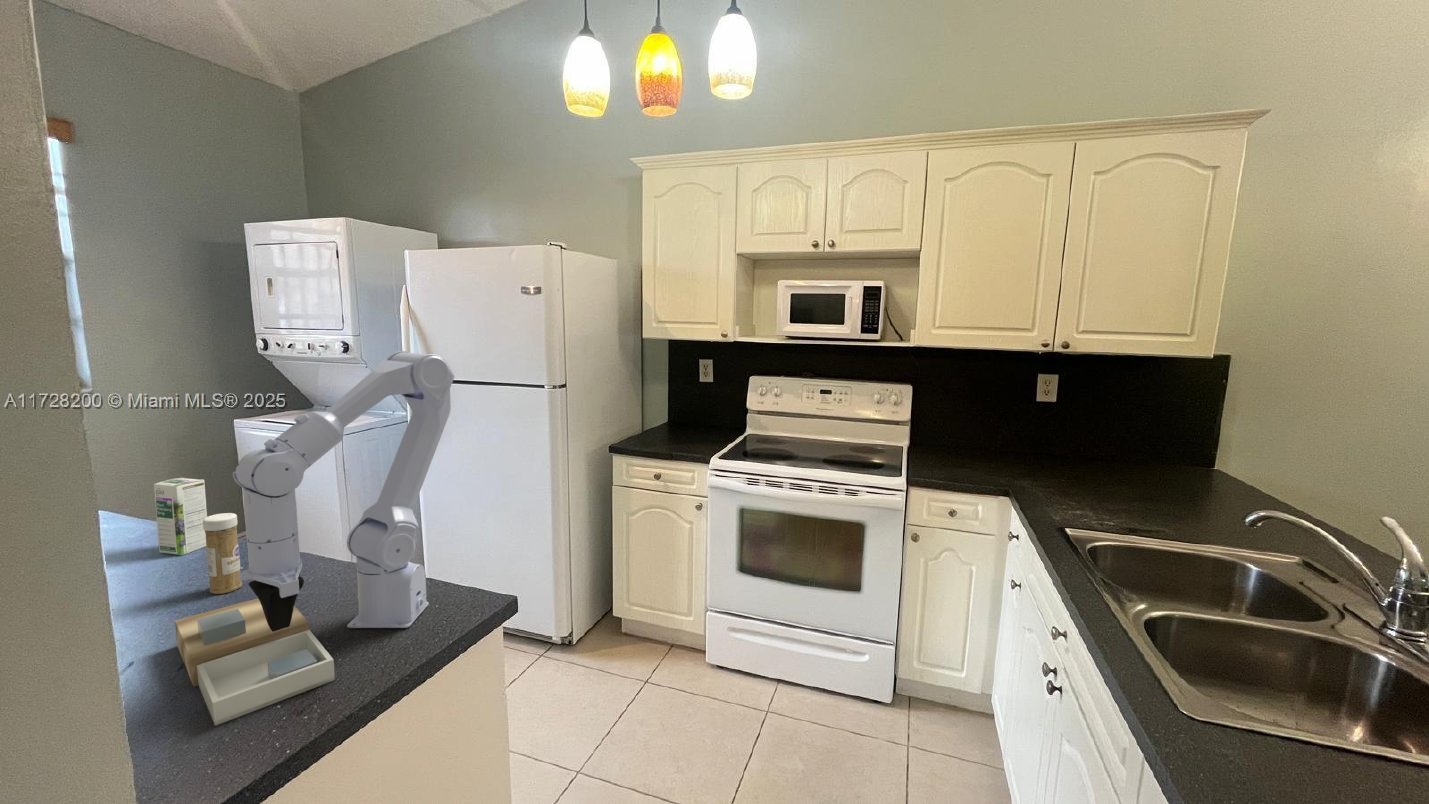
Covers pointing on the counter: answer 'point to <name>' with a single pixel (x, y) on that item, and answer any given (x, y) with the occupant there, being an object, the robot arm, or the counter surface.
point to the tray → (260, 677)
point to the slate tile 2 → (290, 663)
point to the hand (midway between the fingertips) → (279, 627)
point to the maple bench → (254, 636)
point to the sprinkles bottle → (222, 552)
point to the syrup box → (180, 515)
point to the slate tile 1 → (221, 626)
